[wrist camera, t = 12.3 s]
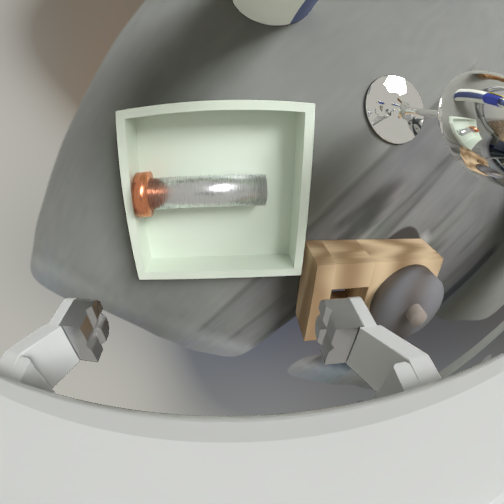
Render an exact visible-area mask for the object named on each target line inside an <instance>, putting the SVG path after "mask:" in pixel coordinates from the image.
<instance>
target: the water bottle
mask: <svg viewBox="0 0 504 504" xmlns="http://www.w3.org/2000/svg"><path fill="white" fill-rule="evenodd" d="M317 1H318V0H233V3H234V5H235V6H236V8H237V9H238V10H239V11H240V12H241V13H242V14H243V15H245V16H246V17H248V18H250V19H251V20H254V21H256V22H259V23H262V24H267V25H277V26H278V25H288V24H292V23H295V22H297V21H299V20H301V19H303V18H304V17H305V16H306V15H307V14H308V13H309V12H310V11H311V9H312V8H313V6H314V5H315V4H316V2H317Z"/></svg>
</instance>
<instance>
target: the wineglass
mask: <svg viewBox="0 0 504 504" xmlns="http://www.w3.org/2000/svg"><path fill="white" fill-rule="evenodd" d="M366 113H367V117H368V120H369V123H370V125H371V126H372V128H373V130H374V131H375V132H376V133H377V135H379V136H380V137H381V138H382V139H384V140H385V141H387V142H390V143H393V144H403V143H406V142H409V141H411V140H412V139H413V138H414V137H415V136H416V135H417V134H418V133H419V131H420V129H421V127H422V124H423V119H424V116H426V117H431V118H436V119H438V120H439V127H440V131H441V134H442V137H443V140H444V142H445V143H446V145H447V147H448V149H449V151H450V153H451V155H452V156H453V157H454V158H455V160H456V161H457V162H458V163H459V164H460V165H461V166H462V167H463V168H464V169H465V170H467V171H468V172H470V173H471V174H473V175H475V176H476V177H478V178H480V179H482V180H485V181H487V182H490V183H492V184H495V185H498V186H501V187H504V74H500V73H495V72H490V71H484V70H474V71H467V72H463V73H461V74H460V75H458V76H456V77H454V78H453V79H452V80H451V81H450V82H449V83H448V84H447V86H446V87H445V89H444V91H443V93H442V95H441V98H440V101H439V107H438V110H429V109H424V108H423V103H422V100H421V97H420V95H419V93H418V91H417V90H416V88H415V87H414V86H413V85H412V84H411V83H410V82H409V81H407V80H406V79H404V78H402V77H400V76H397V75H385V76H381V77H380V78H378V79H376V80H375V81H374V82H373V83H372V85H371V86H370V88H369V90H368V92H367V95H366Z"/></svg>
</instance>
